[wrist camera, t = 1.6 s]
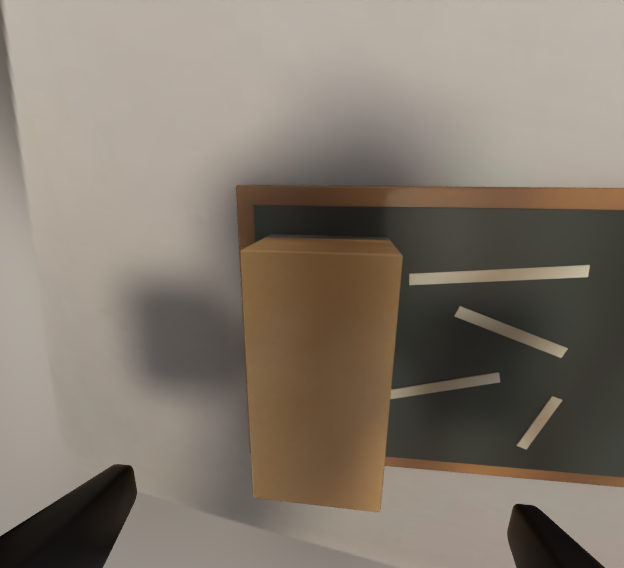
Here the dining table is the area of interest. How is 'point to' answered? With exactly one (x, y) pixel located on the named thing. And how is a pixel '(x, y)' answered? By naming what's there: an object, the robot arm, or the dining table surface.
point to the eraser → (320, 365)
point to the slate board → (488, 320)
